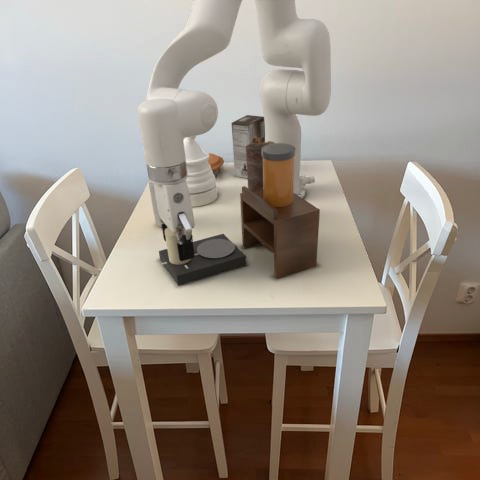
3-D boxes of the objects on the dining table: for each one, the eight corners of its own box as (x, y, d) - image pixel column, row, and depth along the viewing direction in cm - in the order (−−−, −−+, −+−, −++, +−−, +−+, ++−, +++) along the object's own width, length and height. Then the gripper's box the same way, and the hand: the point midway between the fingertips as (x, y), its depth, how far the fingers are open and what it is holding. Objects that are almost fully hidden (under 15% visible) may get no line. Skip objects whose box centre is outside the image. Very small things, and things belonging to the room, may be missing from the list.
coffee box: (249, 166, 151) (247, 114, 141) (266, 169, 148) (265, 116, 138) (233, 176, 145) (230, 122, 135) (251, 179, 142) (249, 124, 132)
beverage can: (171, 229, 119) (164, 183, 111) (153, 228, 119) (145, 182, 112) (176, 220, 122) (170, 175, 115) (159, 219, 123) (152, 175, 116)
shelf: (279, 236, 113) (279, 175, 103) (316, 266, 101) (320, 200, 92) (242, 246, 110) (239, 185, 100) (276, 278, 98) (276, 212, 89)
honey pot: (225, 198, 132) (220, 132, 121) (184, 210, 127) (176, 143, 116) (203, 184, 141) (197, 122, 130) (164, 195, 135) (155, 131, 124)
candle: (244, 228, 117) (241, 147, 105) (254, 215, 122) (251, 137, 110) (274, 231, 115) (273, 149, 102) (282, 218, 120) (283, 139, 108)
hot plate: (223, 242, 111) (223, 232, 110) (246, 265, 103) (246, 255, 101) (153, 262, 106) (152, 252, 104) (171, 288, 97) (169, 277, 96)
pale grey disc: (225, 236, 109) (225, 235, 108) (241, 252, 102) (241, 251, 102) (191, 246, 106) (190, 244, 106) (205, 262, 100) (205, 261, 99)
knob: (165, 257, 102) (160, 227, 98) (186, 251, 104) (181, 221, 99) (174, 267, 99) (169, 236, 94) (194, 260, 101) (191, 230, 96)
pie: (173, 184, 142) (171, 168, 139) (178, 166, 154) (176, 151, 151) (224, 181, 142) (223, 165, 139) (225, 163, 154) (224, 148, 151)
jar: (283, 192, 101) (284, 141, 94) (300, 203, 96) (301, 149, 89) (256, 198, 99) (255, 147, 92) (272, 210, 94) (271, 156, 87)
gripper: (202, 180, 84) (210, 262, 95) (170, 154, 97) (181, 228, 107) (163, 189, 82) (176, 272, 92) (135, 161, 94) (150, 236, 105)
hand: (178, 248), depth 100 cm, fingers open, 9 cm apart
